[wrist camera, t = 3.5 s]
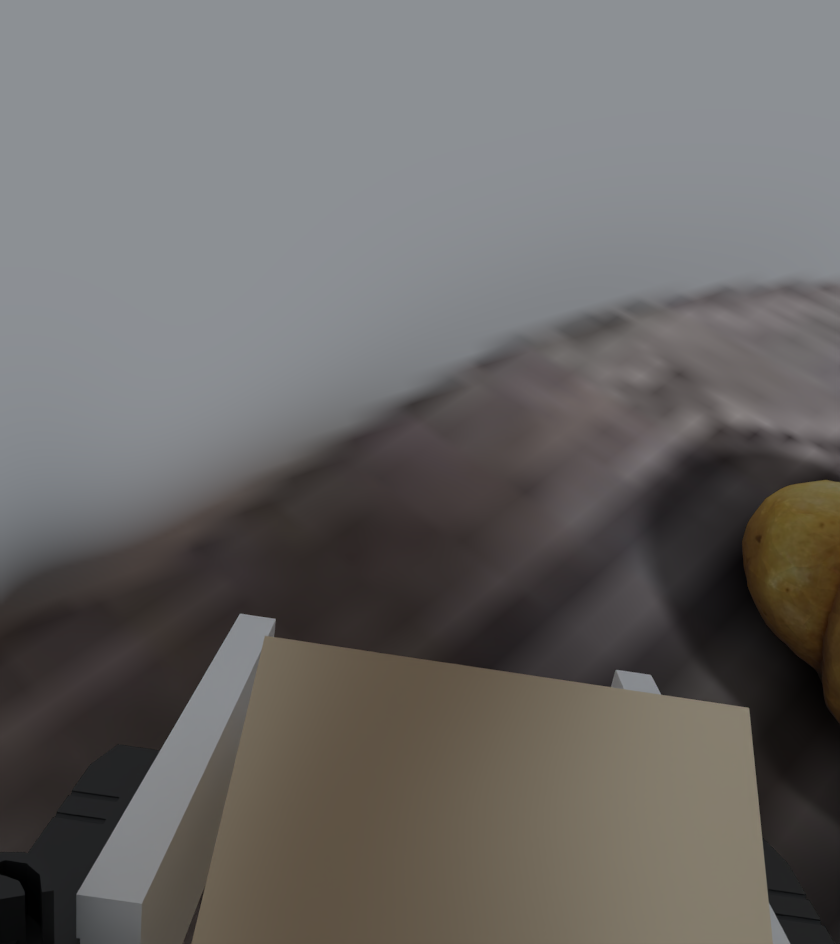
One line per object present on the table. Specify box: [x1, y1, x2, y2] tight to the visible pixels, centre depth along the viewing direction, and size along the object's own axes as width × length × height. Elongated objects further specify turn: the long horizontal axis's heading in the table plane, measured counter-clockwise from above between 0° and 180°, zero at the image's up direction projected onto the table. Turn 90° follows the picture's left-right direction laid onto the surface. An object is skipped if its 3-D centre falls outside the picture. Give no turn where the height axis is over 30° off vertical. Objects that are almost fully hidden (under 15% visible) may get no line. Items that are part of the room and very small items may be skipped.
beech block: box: [192, 636, 773, 944], centre depth 11 cm, size 5×5×12 cm
